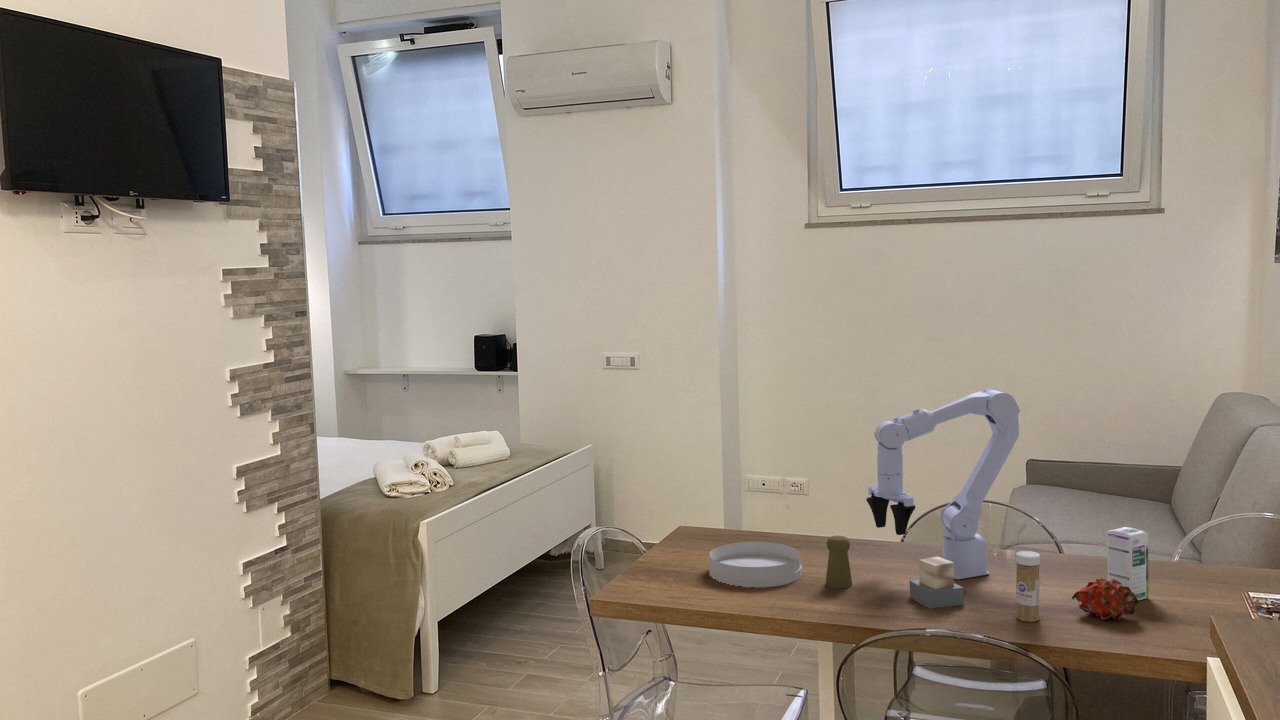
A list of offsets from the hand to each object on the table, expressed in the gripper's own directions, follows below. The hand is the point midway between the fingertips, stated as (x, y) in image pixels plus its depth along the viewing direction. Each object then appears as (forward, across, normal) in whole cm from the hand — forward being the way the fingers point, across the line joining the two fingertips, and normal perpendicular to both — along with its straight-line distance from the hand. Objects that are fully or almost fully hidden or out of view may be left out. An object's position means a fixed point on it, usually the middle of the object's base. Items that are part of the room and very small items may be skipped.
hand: (890, 530), depth 222 cm
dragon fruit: (+11, +43, +20) cm, 48 cm away
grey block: (+11, +20, -3) cm, 23 cm away
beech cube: (+7, +20, -3) cm, 21 cm away
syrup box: (+11, +36, +34) cm, 51 cm away
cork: (+11, 0, -15) cm, 18 cm away
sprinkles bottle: (+11, +37, +6) cm, 39 cm away
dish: (+11, -16, -28) cm, 34 cm away
